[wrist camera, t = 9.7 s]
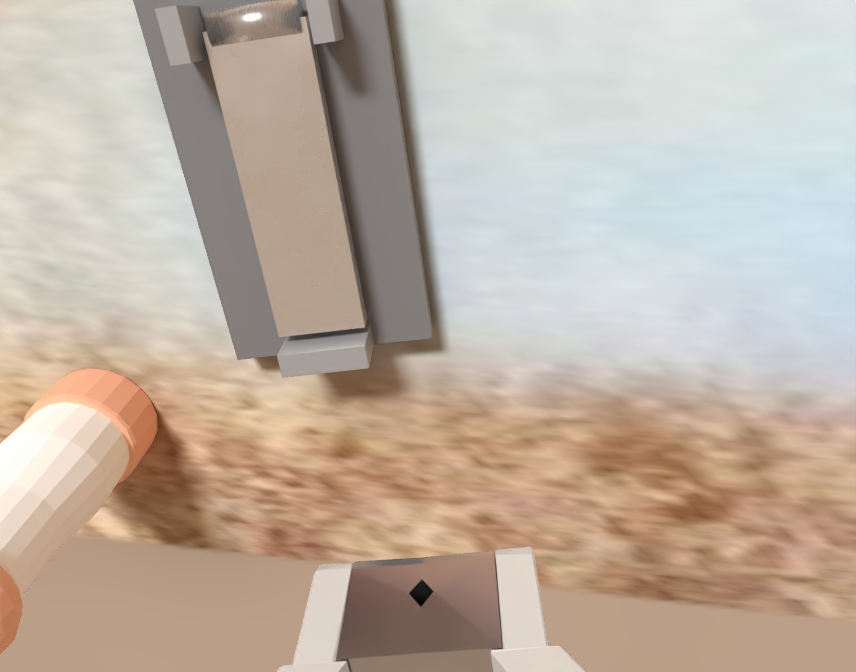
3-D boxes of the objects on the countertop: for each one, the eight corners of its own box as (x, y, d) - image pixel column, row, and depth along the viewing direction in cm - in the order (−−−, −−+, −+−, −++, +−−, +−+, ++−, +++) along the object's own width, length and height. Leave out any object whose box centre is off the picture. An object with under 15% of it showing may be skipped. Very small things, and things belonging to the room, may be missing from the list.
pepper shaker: (145, 367, 44) (-52, 596, 27) (168, 458, 47) (5, 717, 30) (36, 369, 44) (-229, 597, 27) (66, 460, 47) (-154, 716, 30)
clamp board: (379, -39, 33) (368, -47, 29) (432, 324, 42) (430, 361, 37) (148, -2, 34) (103, -5, 30) (246, 345, 43) (222, 384, 38)
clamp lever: (307, -4, 32) (300, -6, 31) (368, 317, 39) (364, 329, 38) (207, 11, 33) (194, 11, 31) (284, 326, 40) (277, 339, 38)
